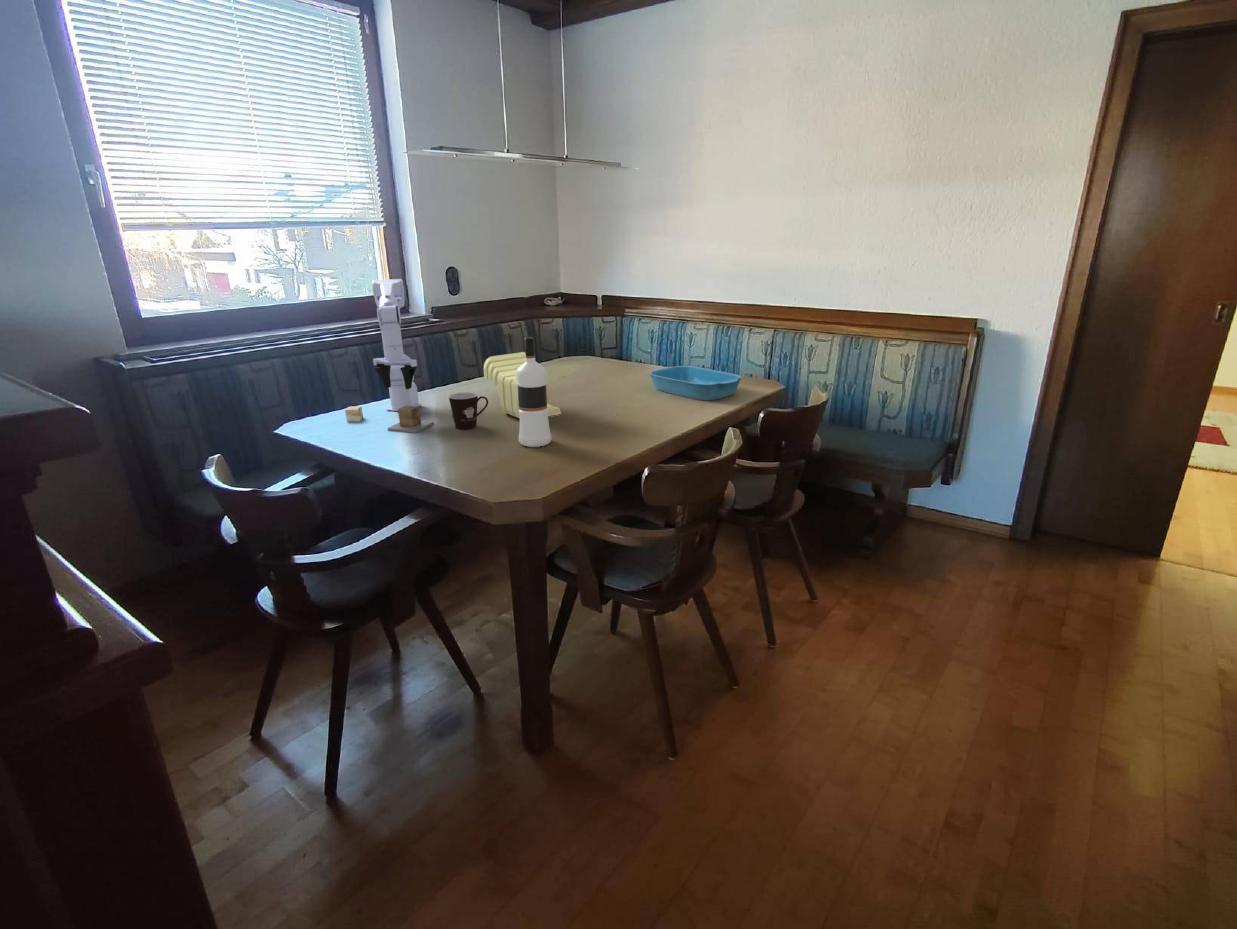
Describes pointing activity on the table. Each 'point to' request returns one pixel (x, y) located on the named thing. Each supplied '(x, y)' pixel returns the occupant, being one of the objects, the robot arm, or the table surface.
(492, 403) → the table surface
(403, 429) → the slate coaster
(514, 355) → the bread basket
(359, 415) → the maple block
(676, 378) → the casserole dish
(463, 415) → the coffee mug
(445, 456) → the table surface
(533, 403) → the vodka
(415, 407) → the walnut block
